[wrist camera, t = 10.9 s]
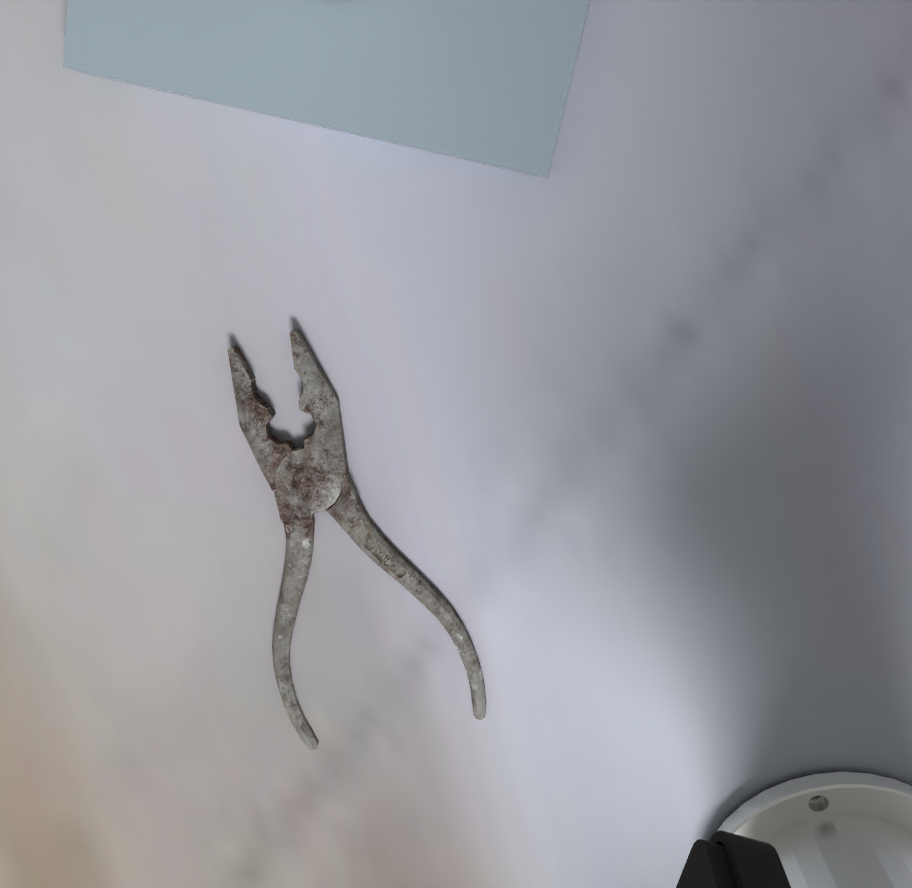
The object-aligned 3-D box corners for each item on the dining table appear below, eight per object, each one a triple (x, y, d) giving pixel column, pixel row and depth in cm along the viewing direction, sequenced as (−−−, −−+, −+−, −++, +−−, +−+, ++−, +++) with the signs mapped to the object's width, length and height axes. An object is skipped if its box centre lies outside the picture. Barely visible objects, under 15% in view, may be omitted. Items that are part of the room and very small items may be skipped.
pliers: (324, 782, 38) (95, 417, 34) (328, 769, 39) (105, 412, 34) (508, 713, 36) (292, 317, 32) (508, 702, 37) (297, 313, 33)
